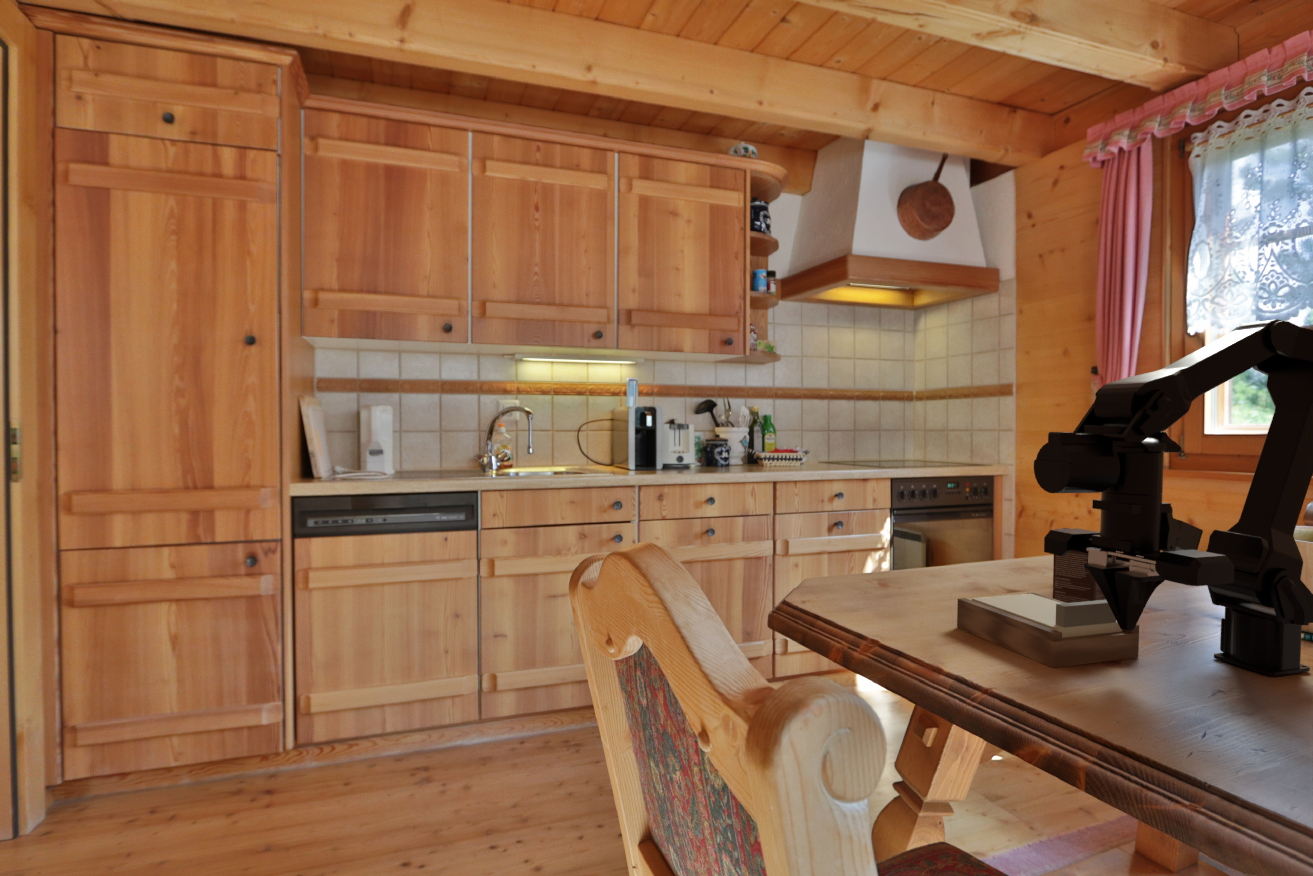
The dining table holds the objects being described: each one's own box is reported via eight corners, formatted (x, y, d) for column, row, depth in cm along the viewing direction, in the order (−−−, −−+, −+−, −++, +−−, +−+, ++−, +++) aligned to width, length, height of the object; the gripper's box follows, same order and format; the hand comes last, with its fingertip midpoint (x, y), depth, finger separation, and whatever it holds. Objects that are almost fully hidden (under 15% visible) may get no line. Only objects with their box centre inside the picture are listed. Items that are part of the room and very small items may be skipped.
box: (1105, 611, 106) (1107, 531, 106) (1094, 616, 103) (1096, 534, 103) (1062, 602, 111) (1064, 526, 111) (1050, 607, 108) (1052, 529, 108)
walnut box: (1138, 657, 86) (1139, 624, 86) (1053, 667, 82) (1054, 633, 82) (1032, 620, 101) (1033, 592, 101) (957, 627, 97) (957, 598, 97)
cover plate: (1121, 631, 86) (1122, 601, 86) (1056, 638, 83) (1057, 607, 83) (1030, 602, 99) (1031, 576, 99) (971, 607, 97) (972, 580, 96)
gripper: (1275, 500, 73) (1269, 650, 74) (1111, 483, 91) (1107, 603, 91) (1195, 503, 70) (1190, 660, 70) (1042, 485, 88) (1038, 609, 88)
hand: (1127, 629), depth 80 cm, fingers closed
